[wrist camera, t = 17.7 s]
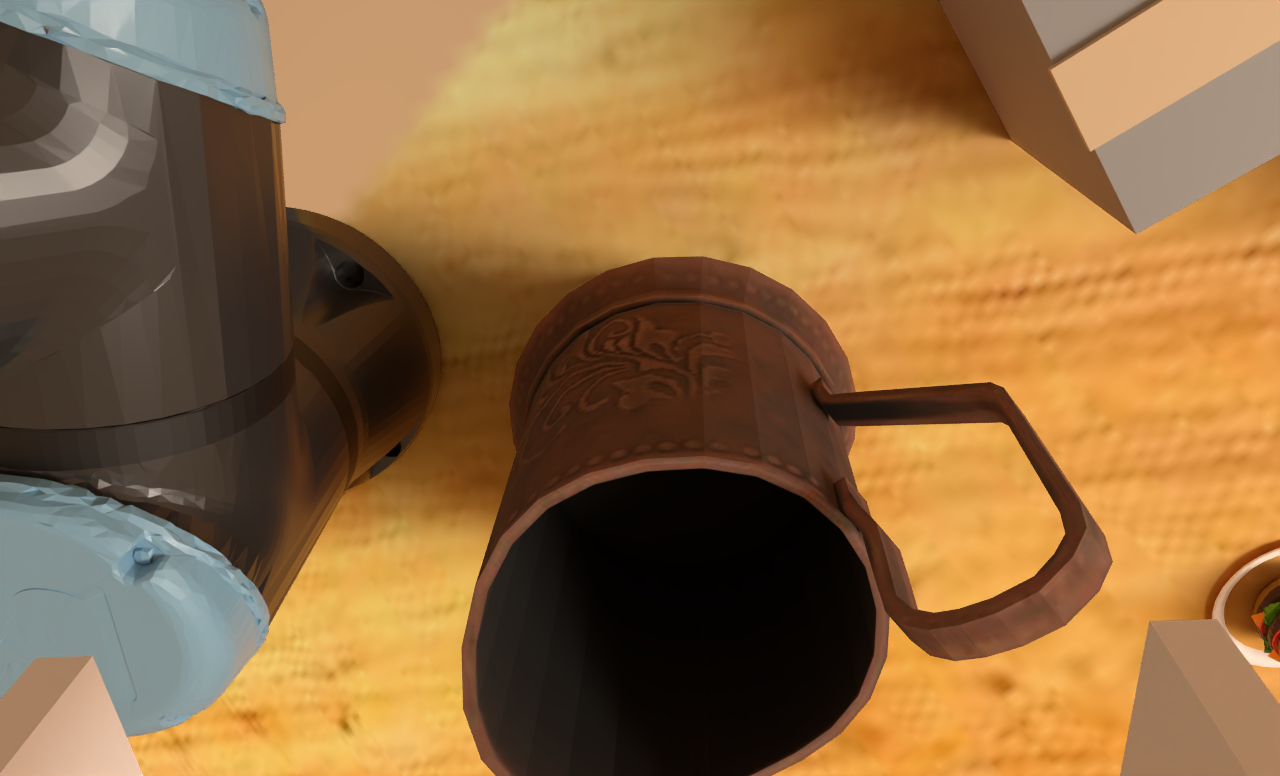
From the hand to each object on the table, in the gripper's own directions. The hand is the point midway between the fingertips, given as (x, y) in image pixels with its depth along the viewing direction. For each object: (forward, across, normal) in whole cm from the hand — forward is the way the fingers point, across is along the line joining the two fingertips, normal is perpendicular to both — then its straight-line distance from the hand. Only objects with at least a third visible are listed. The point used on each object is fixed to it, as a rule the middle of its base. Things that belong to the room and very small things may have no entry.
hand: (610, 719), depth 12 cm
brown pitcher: (+37, +2, -14) cm, 40 cm away
